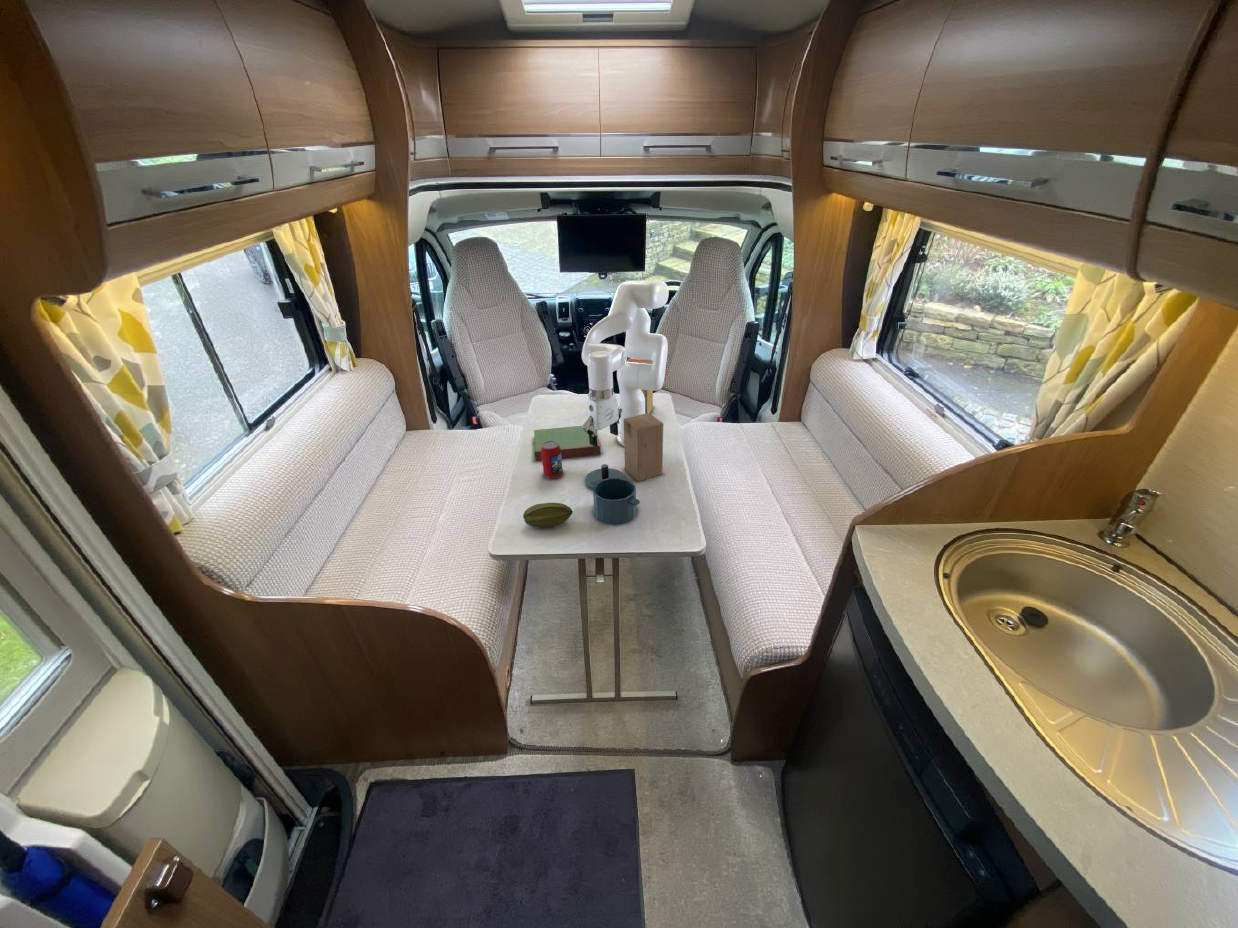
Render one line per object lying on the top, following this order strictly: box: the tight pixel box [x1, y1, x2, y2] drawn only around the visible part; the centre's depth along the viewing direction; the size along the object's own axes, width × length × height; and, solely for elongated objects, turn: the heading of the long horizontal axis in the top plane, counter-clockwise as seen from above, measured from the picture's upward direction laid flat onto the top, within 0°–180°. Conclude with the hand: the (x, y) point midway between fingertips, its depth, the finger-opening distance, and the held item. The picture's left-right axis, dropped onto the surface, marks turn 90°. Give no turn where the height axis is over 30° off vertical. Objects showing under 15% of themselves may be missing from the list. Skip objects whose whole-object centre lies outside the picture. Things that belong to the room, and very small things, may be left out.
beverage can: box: [541, 441, 564, 479], centre depth 173 cm, size 7×7×12 cm
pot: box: [591, 478, 641, 525], centre depth 154 cm, size 13×18×8 cm
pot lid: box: [584, 463, 626, 489], centre depth 170 cm, size 14×14×6 cm
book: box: [533, 425, 602, 462], centre depth 193 cm, size 25×19×4 cm
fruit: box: [522, 502, 574, 529], centre depth 149 cm, size 11×12×7 cm
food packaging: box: [626, 357, 654, 414], centre depth 214 cm, size 13×9×25 cm
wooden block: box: [623, 413, 664, 482], centre depth 171 cm, size 10×10×20 cm
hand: (604, 439), depth 164 cm, fingers open, 9 cm apart
